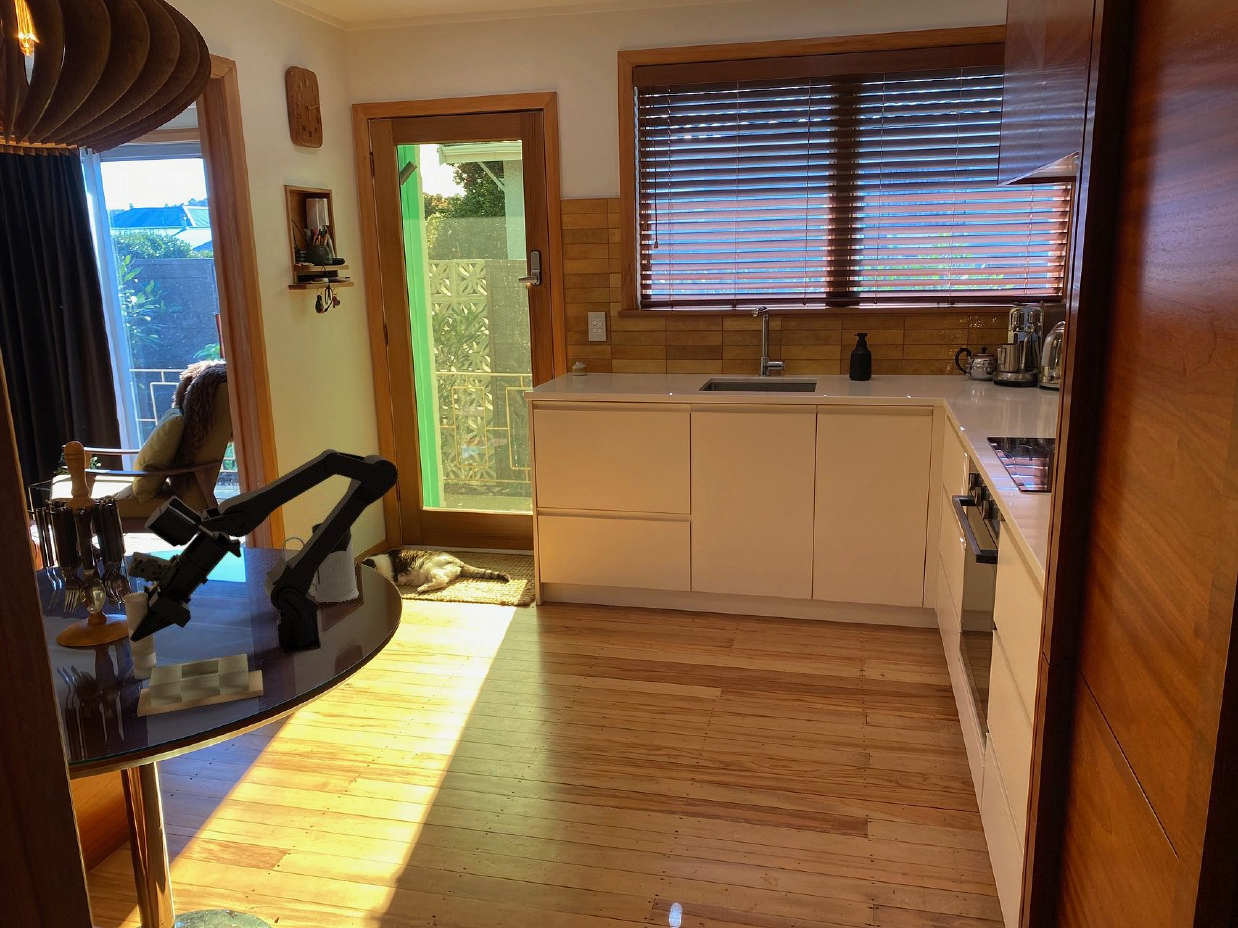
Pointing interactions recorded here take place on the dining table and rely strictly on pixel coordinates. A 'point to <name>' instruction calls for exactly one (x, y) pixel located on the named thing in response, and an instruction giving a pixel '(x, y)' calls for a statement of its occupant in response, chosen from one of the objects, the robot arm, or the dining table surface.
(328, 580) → the glass holder
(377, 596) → the dining table surface
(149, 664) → the beige bar
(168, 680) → the checkered slab
